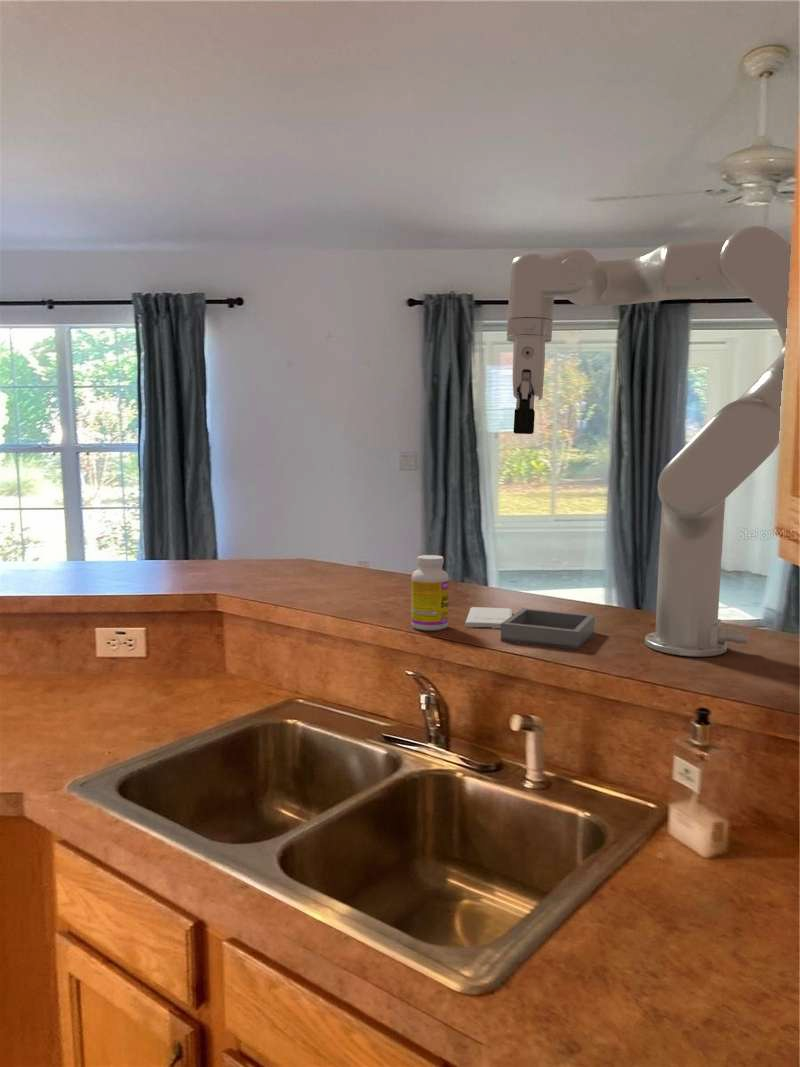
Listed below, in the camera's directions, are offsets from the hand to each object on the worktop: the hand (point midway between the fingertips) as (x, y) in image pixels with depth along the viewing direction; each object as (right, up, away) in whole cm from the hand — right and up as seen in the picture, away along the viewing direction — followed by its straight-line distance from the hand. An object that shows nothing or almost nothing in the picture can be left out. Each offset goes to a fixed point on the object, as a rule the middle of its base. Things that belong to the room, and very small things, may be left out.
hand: (523, 433), depth 135 cm
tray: (+4, -35, 0) cm, 35 cm away
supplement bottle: (-16, -34, +6) cm, 38 cm away
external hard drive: (-5, -34, +12) cm, 37 cm away
